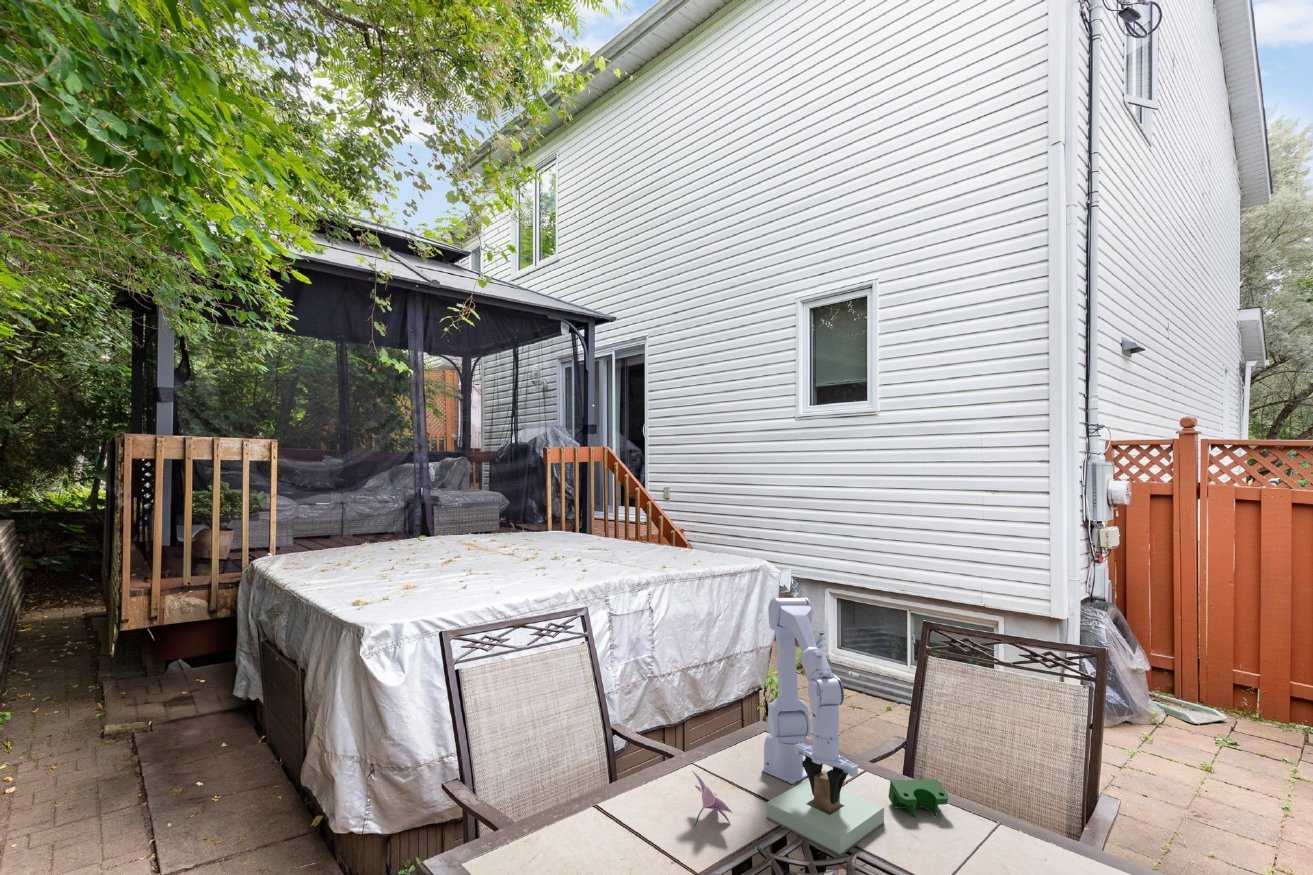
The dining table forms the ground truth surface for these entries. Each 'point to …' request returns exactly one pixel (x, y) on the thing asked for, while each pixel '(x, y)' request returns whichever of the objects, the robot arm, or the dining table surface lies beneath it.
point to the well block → (826, 818)
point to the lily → (710, 800)
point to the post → (824, 794)
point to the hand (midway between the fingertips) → (825, 798)
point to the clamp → (917, 795)
